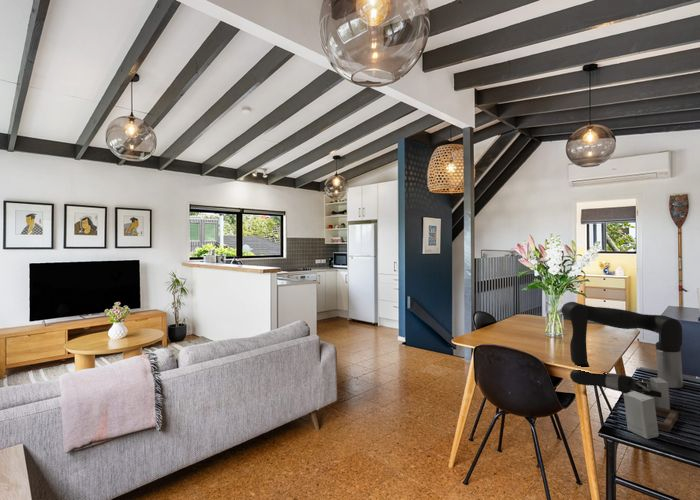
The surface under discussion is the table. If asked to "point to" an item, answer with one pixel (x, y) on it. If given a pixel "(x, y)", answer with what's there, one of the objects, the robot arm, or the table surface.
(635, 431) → the skincare box
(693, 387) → the table surface
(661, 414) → the walnut collar
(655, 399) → the skincare box
